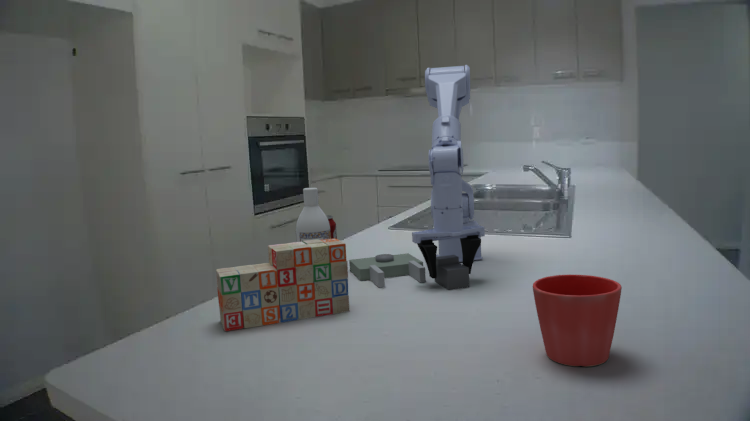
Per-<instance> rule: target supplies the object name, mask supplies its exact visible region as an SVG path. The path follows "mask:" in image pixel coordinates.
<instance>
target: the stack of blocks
mask: <svg viewBox="0 0 750 421" xmlns="http://www.w3.org/2000/svg"><path fill="white" fill-rule="evenodd" d="M267 252H268V253H267V255H268V256H267V257H268V262H263V263H257V264H255V263H254V264H247V265H239V266H237V265H236V266H234V267H233V266H232V267H231V266H230V267H221V268H216V269H215V272H216V285H217V288H216V290H217V300H218V308H219V318H220V322H221V325H222V328H223V331H224V332H231V331H237V330H242V329H249V328H255V327H256V328H257V327H261V326H268V325H274V324H275V323H276V324H280V323H286V322H287V323H288V322H291V321H297V320H298V321H299V320H303V319H304V320H305V319H310V318H316V317H317V318H318V317H322V316H328V315H335V314H341V313H346V312H350V296H349V270H348V266H349V265H348V260H347V245H346V243H345V242H344V241H342V240H340V239H338V238H337V239H335V238H333V239H324V240H319V239H315V240H306V241H302V242H297V241H293V242H288V243H287V242H286V243H277V244H269V245H267Z"/></svg>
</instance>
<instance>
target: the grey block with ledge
mask: <svg viewBox="0 0 750 421" xmlns="http://www.w3.org/2000/svg"><path fill="white" fill-rule="evenodd" d="M436 271H437V277H436V278H434V282H435V283H437V284H438V285H439V286H441V287H442V288H444V289H445V290H447V291H452V290H458V289H469V288H470V274H469V268H468V267H466V266H464V265H463V263H461V262H459V257H458V256H456V255H447V256H439V257H436Z"/></svg>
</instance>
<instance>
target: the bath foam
mask: <svg viewBox="0 0 750 421" xmlns="http://www.w3.org/2000/svg"><path fill="white" fill-rule="evenodd" d="M302 194H303V204H304V206H303V208H302V210H301V212H300V213H299V216H298V218H297V220H296V224H295V226H296V227H295V236H296V242H302V241H306V240H315V239H319V240H324V239H331V232H330V225H329V221H328V219H327V217H326V215H327V214H326V213H325V212H324V210H323V209H322V208H321V207H320V204H319V190H318V188H317V187H305V188H303V189H302Z"/></svg>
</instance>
